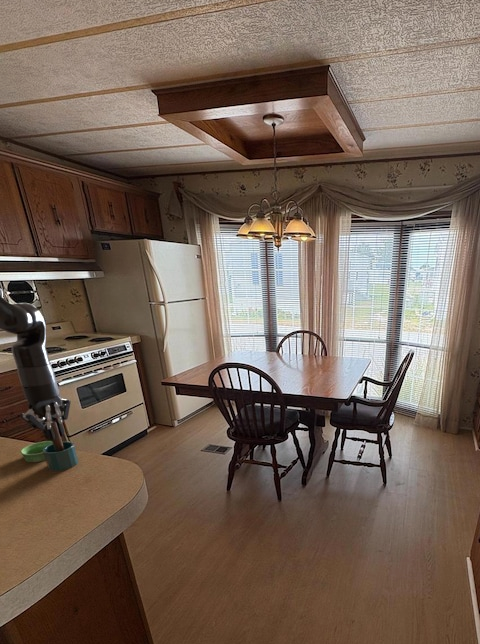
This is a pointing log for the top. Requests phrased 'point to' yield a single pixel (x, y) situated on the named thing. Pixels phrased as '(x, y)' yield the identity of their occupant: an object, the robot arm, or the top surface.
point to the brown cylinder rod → (57, 437)
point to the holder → (61, 457)
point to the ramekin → (35, 451)
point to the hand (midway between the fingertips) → (55, 437)
